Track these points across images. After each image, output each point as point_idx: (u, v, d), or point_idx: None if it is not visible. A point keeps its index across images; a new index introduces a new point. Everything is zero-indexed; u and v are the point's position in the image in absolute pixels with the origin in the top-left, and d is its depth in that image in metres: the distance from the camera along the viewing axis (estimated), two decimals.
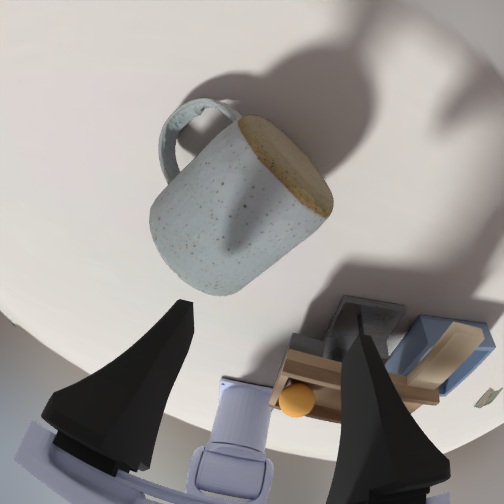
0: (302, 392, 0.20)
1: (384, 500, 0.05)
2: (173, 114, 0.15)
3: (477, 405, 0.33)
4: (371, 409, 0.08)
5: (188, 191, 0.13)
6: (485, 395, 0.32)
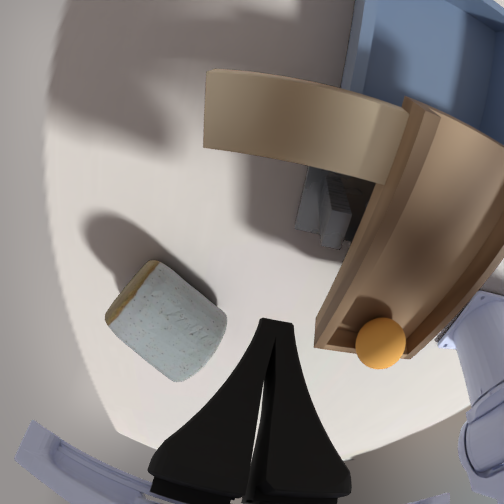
0: (358, 338, 0.14)
1: (275, 502, 0.05)
2: None
3: None
4: (271, 399, 0.08)
5: None
6: None
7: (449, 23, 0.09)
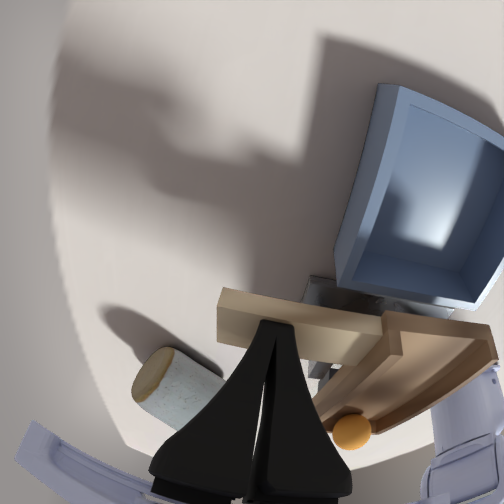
0: (334, 430, 0.17)
1: (276, 502, 0.05)
2: None
3: None
4: (272, 399, 0.08)
5: None
6: None
7: (462, 158, 0.12)
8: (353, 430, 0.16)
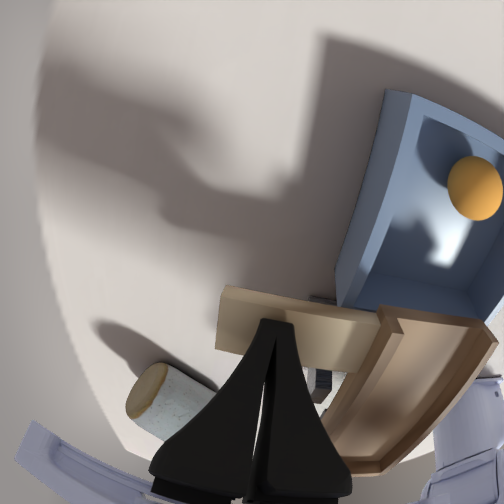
0: (452, 176, 0.10)
1: (276, 502, 0.05)
2: None
3: None
4: (272, 399, 0.08)
5: None
6: None
7: None
8: (471, 156, 0.09)
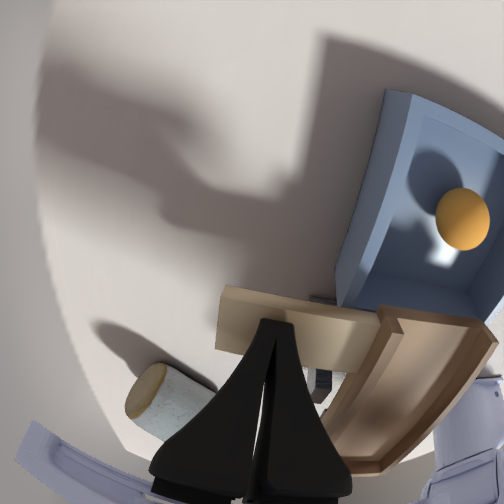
0: (441, 209, 0.11)
1: (276, 502, 0.05)
2: None
3: None
4: (272, 399, 0.08)
5: None
6: None
7: (474, 172, 0.11)
8: (472, 205, 0.09)
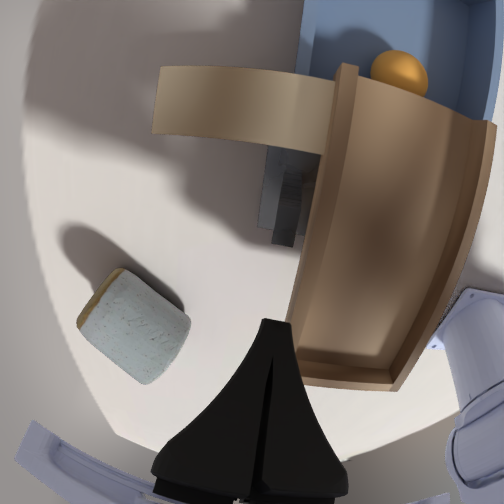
0: (371, 70, 0.10)
1: (272, 501, 0.05)
2: None
3: None
4: (269, 398, 0.08)
5: None
6: None
7: None
8: None
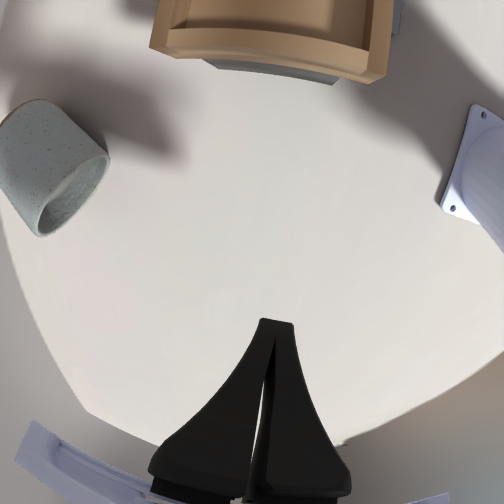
0: None
1: (275, 502, 0.05)
2: None
3: None
4: (271, 399, 0.08)
5: None
6: None
7: None
8: None
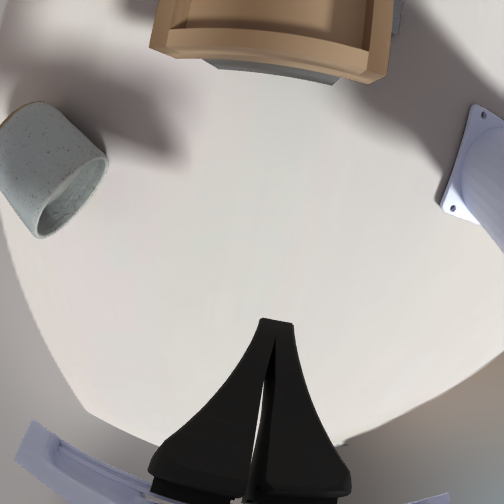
0: None
1: (275, 502, 0.05)
2: None
3: None
4: (271, 399, 0.08)
5: None
6: None
7: None
8: None
